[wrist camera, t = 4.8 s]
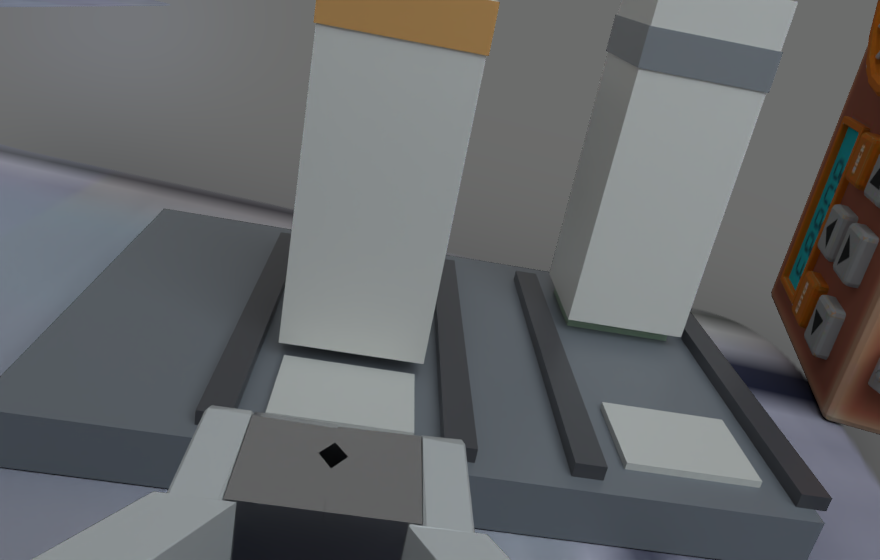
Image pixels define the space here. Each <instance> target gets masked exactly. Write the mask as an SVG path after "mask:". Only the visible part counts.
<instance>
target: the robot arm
mask: <svg viewBox="0 0 880 560" xmlns="http://www.w3.org/2000/svg"><path fill="white" fill-rule="evenodd" d="M32 560H511V559H510V558H509V557H508V556H507V555H506V554H505V553H504V552H503V551H502V550H501V549H500V548H499V547H498V545H497V544H496V543H495V542H494V541H493V540H492V539H491V538H490V537H489V536H488V535H487V534H481V533H475V532H474V522H473V513H472V504H471V494H470V485H469V475H468V466H467V457H466V447H465V443H464V442H463V441H462V440H461V439H451V438H442V437H432V436H423V435H421V436H416V435H408V434H400V433H392V432H384V431H375V430H367V429H359V428H351V427H343V426H338V425H337V424H330V423H324V422H318V421H312V420H306V419H299V418H293V417H287V416H281V415H275V414H268V413H262V412H256V411H255V412H254V413H253V412H252V411H251V410H243V409H236V408H229V407H221V406H214V405H211V406H210V407H209V408H207V409H206V410H205V411H204V413H203V416H202V418H201V420H200V422H199V424H198V426H197V429H196V431H195V433H194V435H193V437H192V439H191V442H190V444H189V446H188V448H187V450H186V452H185V454H184V457H183V459H182V461H181V463H180V465H179V467H178V470H177V472H176V474H175V476H174V478H173V480H172V483H171V485H170V487H169V489H168V491H167V493H162V492H151V493H150V494H148V495H146V496H144V497H142V498H141V499H139V500H137V501H135V502H133V503H132V504H130V505H128V506H126V507H125V508H123V509H121V510H119V511H117V512H116V513H114V514H112V515H110V516H108V517H107V518H105V519H103V520H101V521H99V522H98V523H96V524H94V525H92V526H91V527H89V528H87V529H85V530H83V531H82V532H80V533H78V534H76V535H74V536H73V537H71V538H69V539H67V540H66V541H64V542H62V543H60V544H58V545H57V546H55V547H53V548H51V549H49V550H48V551H46V552H44V553H42V554H40V555H39V556H37V557H35V558H33V559H32Z"/></svg>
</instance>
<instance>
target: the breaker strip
mask: <svg viewBox="0 0 880 560" xmlns="http://www.w3.org/2000/svg"><path fill="white" fill-rule="evenodd" d="M797 4H798V2H796V1H791V0H621V3H620V7H619V11H618V15H615V19H614V23H613V26H612V30H611V34H610V38H609V42H608V46H607V49H606V51H607V52H608V53H607V56H606V60H605V64H604V68H603V72H602V76H601V79H600V83H599V87H598V91H597V95H596V98H595V102H594V106H593V109H592V113H591V117H590V121H589V125H588V128H587V132H586V136H585V140H584V144H583V148H582V151H581V155H580V159H579V163H578V166H577V170H576V174H575V178H574V182H573V185H572V189H571V193H570V197H569V201H568V204H567V208H566V212H565V216H564V220H563V223H562V227H561V231H560V235H559V239H558V242H557V246H556V250H555V254H554V258H553V261H552V265H551V269H550V272H547V271H541V270H535V269H529V268H523V267H517V266H511V265H504V264H499V263H493V262H486V261H480V260H474V259H468V258H462V257H456V256H450V255H446V256H445V261H444V266H443V271H442V276H441V281H440V286H439V291H438V296H437V300H436V305H435V310H434V315H433V320H432V325H431V330H430V335H429V340H428V345H427V350H426V354H425V359H424V364H419V363H412V362H406V361H399V360H392V359H386V358H379V357H372V356H366V355H359V354H352V353H345V352H339V351H332V350H325V349H319V348H312V347H305V346H299V345H292V344H285V343H279V334H280V326H281V317H282V309H283V300H284V292H285V283H286V275H287V266H288V258H289V249H290V241H291V232H292V230H291V229H285V228H279V227H273V226H267V225H261V224H255V223H249V222H243V221H237V220H231V219H224V218H218V217H212V216H206V215H200V214H194V213H188V212H182V211H176V210H170V209H163V210H162V211H161V212H160V214H159V215H158V216H157V217H156V218H155V219H154V220H153V221H152V222H151V223H150V224H149V225H148V226H147V227H146V228H145V229H144V230H143V231H142V232H141V233H140V234H139V235H138V236H137V237H136V238H135V239H134V240H133V241H132V242H131V243H130V244H129V245H128V246H127V247H126V248H125V249H124V250H123V251H122V252H121V253H120V255H119V256H118V257H117V258H116V259H115V260H114V261H113V262H112V263H111V264H110V265H109V266H108V267H107V268H106V269H105V270H104V271H103V272H102V273H101V274H100V275H99V276H98V277H97V278H96V279H95V280H94V281H93V282H92V283H91V284H90V285H89V286H88V287H87V288H86V289H85V290H84V291H83V292H82V293H81V294H80V295H79V297H78V298H77V299H76V300H75V301H74V302H73V303H72V304H71V305H70V306H69V307H68V308H67V309H66V310H65V311H64V312H63V313H62V314H61V315H60V316H59V317H58V318H57V319H56V320H55V321H54V322H53V323H52V324H51V325H50V326H49V327H48V328H47V329H46V330H45V331H44V332H43V333H42V334H41V335H40V336H39V338H38V339H37V340H36V341H35V342H34V343H33V344H32V345H31V346H30V347H29V348H28V349H27V350H26V351H25V352H24V353H23V354H22V355H21V356H20V357H19V358H18V359H17V360H16V361H15V362H14V363H13V364H12V365H11V366H10V367H9V368H8V369H7V370H6V371H5V372H4V373H3V374H2V375H1V376H0V467H4V468H12V469H20V470H28V471H35V472H43V473H51V474H59V475H67V476H74V477H82V478H90V479H98V480H105V481H113V482H121V483H129V484H137V485H144V486H152V487H160V488H168V489H169V487H170V485H171V483H172V480H173V478H174V476H175V474H176V472H177V470H178V467H179V465H180V463H181V461H182V459H183V457H184V454H185V452H186V450H187V448H188V446H189V444H190V442H191V439H192V437H193V435H194V433H195V431H196V429H197V426H198V424H199V422H200V420H201V418H202V416H203V413H204V411H205V410H206V409H207V408H209V407H210V406H211V405H214V406H221V407H229V408H236V409H243V410H251V411H252V412H253V413H254V412H255V411H256V412H262V413H268V414H275V415H281V416H287V417H293V418H299V419H306V420H312V421H318V422H324V423H330V424H337V425H338V426H343V427H351V428H359V429H367V430H375V431H384V432H392V433H400V434H408V435H416V436H421V435H423V436H432V437H442V438H451V439H461V440H462V441H463V442H464V443H465V447H466V457H467V466H468V475H469V485H470V494H471V504H472V513H473V522H474V528H479V529H487V530H494V531H502V532H510V533H518V534H525V535H533V536H541V537H549V538H557V539H564V540H572V541H580V542H588V543H595V544H603V545H611V546H619V547H627V548H634V549H642V550H650V551H658V552H665V553H673V554H681V555H689V556H697V557H704V558H712V559H720V560H807V559H808V557H809V555H810V553H811V551H812V549H813V546H814V544H815V542H816V540H817V538H818V536H819V534H820V532H821V530H822V528H823V526H824V524H825V523H824V522H823V521H822V519H821V518H820V516H819V515H818V513H817V512H816V511H815V510H820V511H826V510H827V508H828V506H829V504H830V502H831V500H832V498H831V496H830V495H829V494H828V493H827V491H826V490H825V489H824V487H823V486H822V485H821V483H820V482H819V481H818V479H817V478H816V477H815V475H814V474H813V473H812V471H811V470H810V469H809V467H808V466H807V465H806V464H805V462H804V461H803V460H802V458H801V457H800V456H799V454H798V453H797V452H796V450H795V449H794V448H793V446H792V445H791V444H790V442H789V441H788V440H787V439H786V437H785V436H784V435H783V433H782V432H781V431H780V429H779V428H778V427H777V425H776V424H775V423H774V421H773V420H772V419H771V417H770V416H769V415H768V413H767V412H766V411H765V410H764V408H763V407H762V406H761V404H760V403H759V402H758V400H757V399H756V398H755V396H754V395H753V394H752V392H751V391H750V390H749V388H748V387H747V386H746V384H745V383H744V382H743V381H742V379H741V378H740V377H739V375H738V374H737V373H736V371H735V370H734V369H733V367H732V366H731V365H730V363H729V362H728V361H727V359H726V358H725V357H724V355H723V354H722V353H721V352H720V350H719V349H718V348H717V346H716V345H715V344H714V342H713V341H712V340H711V338H710V337H709V336H708V334H707V333H706V332H705V330H704V329H703V328H702V326H701V325H700V324H699V323H698V321H697V320H696V319H695V317H694V316H693V315H692V313H691V312H690V310H691V307H692V304H693V302H694V299H695V296H696V293H697V290H698V287H699V284H700V282H701V279H702V276H703V273H704V270H705V267H706V264H707V261H708V259H709V256H710V253H711V250H712V247H713V244H714V241H715V239H716V236H717V233H718V230H719V227H720V224H721V222H722V218H723V216H724V213H725V210H726V207H727V204H728V201H729V199H730V196H731V193H732V190H733V187H734V184H735V181H736V179H737V175H738V173H739V170H740V167H741V164H742V161H743V158H744V156H745V153H746V150H747V147H748V144H749V141H750V138H751V136H752V133H753V130H754V127H755V124H756V121H757V118H758V115H759V112H760V110H761V107H762V104H763V101H764V98H765V95H766V93H769V91H770V88H771V85H772V83H773V80H774V77H775V74H776V71H777V68H778V65H779V63H780V60H781V57H782V54H783V52H781V49H782V47H783V44H784V41H785V38H786V35H787V32H788V30H789V26H790V24H791V21H792V18H793V15H794V12H795V9H796V7H797Z"/></svg>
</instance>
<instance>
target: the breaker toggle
mask: <svg viewBox="0 0 880 560" xmlns="http://www.w3.org/2000/svg"><path fill="white" fill-rule="evenodd" d="M499 4H500V2H498V0H316V7H315V16H314V23H316V28H315V36H314V45H313V54H312V62H311V70H310V79H309V87H308V96H307V105H306V114H305V122H304V130H303V139H302V147H301V156H300V164H299V173H298V181H297V189H296V190H297V191H296V198H295V206H294V215H293V223H292V232H291V241H290V249H289V258H288V266H287V275H286V283H285V292H284V300H283V309H282V317H281V326H280V334H279V343H285V344H292V345H299V346H305V347H312V348H319V349H325V350H332V351H339V352H345V353H352V354H359V355H366V356H372V357H379V358H386V359H392V360H399V361H406V362H412V363H419V364H424V359H425V354H426V350H427V345H428V340H429V335H430V330H431V325H432V320H433V315H434V310H435V305H436V300H437V296H438V291H439V286H440V281H441V276H442V271H443V266H444V261H445V256H446V251H447V246H448V242H449V237H450V232H451V227H452V221H453V217H454V212H455V207H456V202H457V197H458V192H459V188H460V182H461V178H462V173H463V168H464V163H465V158H466V153H467V148H468V143H469V139H470V134H471V129H472V124H473V119H474V114H475V109H476V104H477V99H478V94H479V90H480V85H481V79H482V75H483V70H484V65H485V60H486V56H489V52H490V47H491V42H492V38H493V33H494V28H495V23H496V18H497V13H498V8H499Z"/></svg>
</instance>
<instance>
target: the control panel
mask: <svg viewBox="0 0 880 560" xmlns="http://www.w3.org/2000/svg"><path fill="white" fill-rule="evenodd" d="M771 293H772V298H773V300H774V303H775V305H776V307H777V310H778V312H779V314H780V316H781V319H782V321H783V323H784V326H785V328H786V331H787V333H788V335H789V338H790V340H791V342H792V345H793V347H794V349H795V352H796V354H797V356H798V359H799V361H800V364H801V366H802V368H803V371H804V373H805V375H806V378H807V380H808V382H809V385H810V387H811V389H812V392H813V394H814V396H815V399H816V401H817V403H818V406H819V408H820V410H821V413H822V415H823V417H825V418H826V419H828V420H830V421H833V422H837V423H840V424H844V425H848V426H851V427H855V428H858V429H862V430H865V431H869V432H873V433H876V434H880V0H878V3H877V7H876V11H875V15H874V19H873V23H872V27H871V31H870V35H869V42H868V47H867V49H866V52H865V54H864V57H863V59H862V62H861V64H860V67H859V70H858V72H857V75H856V77H855V80H854V82H853V85H852V87H851V90H850V92H849V95H848V98H847V100H846V103H845V105H844V108H843V110H842V113H841V116H840V118H839V121H838V123H837V126H836V128H835V131H834V134H833V136H832V139H831V141H830V144H829V146H828V149H827V151H826V154H825V156H824V159H823V162H822V164H821V167H820V169H819V172H818V174H817V177H816V180H815V182H814V185H813V187H812V190H811V192H810V195H809V197H808V200H807V203H806V205H805V208H804V211H803V213H802V215H801V218H800V220H799V223H798V226H797V228H796V231H795V233H794V236H793V238H792V241H791V243H790V246H789V249H788V251H787V254H786V256H785V259H784V261H783V264H782V267H781V269H780V272H779V274H778V277H777V279H776V282H775V284H774V288H773V289H772V292H771Z"/></svg>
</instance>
